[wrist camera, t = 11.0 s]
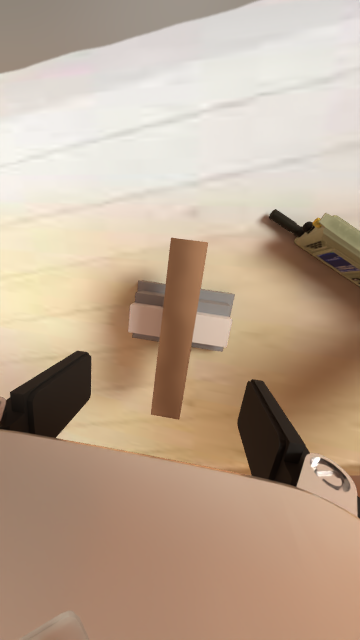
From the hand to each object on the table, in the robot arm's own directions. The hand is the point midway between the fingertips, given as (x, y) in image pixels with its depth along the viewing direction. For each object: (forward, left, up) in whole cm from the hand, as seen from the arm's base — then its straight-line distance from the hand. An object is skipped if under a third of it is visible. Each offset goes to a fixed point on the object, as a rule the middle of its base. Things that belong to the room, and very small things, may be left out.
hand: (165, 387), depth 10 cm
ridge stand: (0, 0, -22) cm, 22 cm away
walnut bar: (0, 0, -14) cm, 14 cm away
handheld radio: (-22, -12, -23) cm, 34 cm away
